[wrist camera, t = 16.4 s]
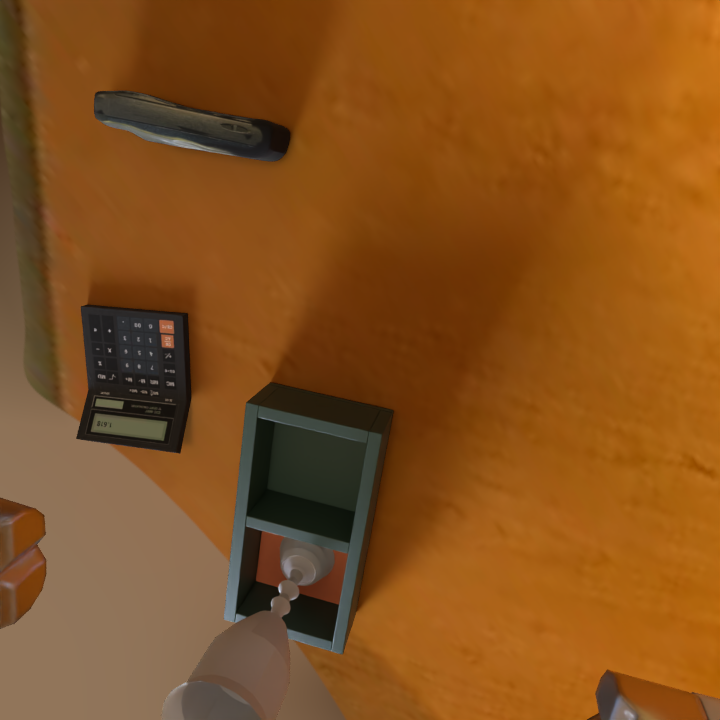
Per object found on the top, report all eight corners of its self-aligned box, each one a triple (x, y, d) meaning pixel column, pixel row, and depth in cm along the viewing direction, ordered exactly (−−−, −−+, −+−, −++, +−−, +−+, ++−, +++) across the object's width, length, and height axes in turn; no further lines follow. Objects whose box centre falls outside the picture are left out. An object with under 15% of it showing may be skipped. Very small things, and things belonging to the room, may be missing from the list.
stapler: (272, 114, 38) (64, 78, 40) (266, 162, 39) (63, 125, 40) (294, 123, 42) (107, 91, 44) (289, 166, 43) (106, 132, 45)
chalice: (351, 590, 51) (281, 787, 34) (279, 591, 52) (178, 778, 36) (336, 515, 49) (255, 683, 32) (262, 519, 51) (148, 679, 34)
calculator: (187, 313, 48) (168, 320, 45) (193, 442, 51) (175, 457, 48) (87, 304, 50) (63, 311, 47) (98, 430, 53) (76, 443, 50)
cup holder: (393, 409, 46) (382, 434, 42) (356, 613, 52) (342, 655, 47) (270, 382, 48) (245, 402, 43) (247, 581, 54) (223, 619, 49)
